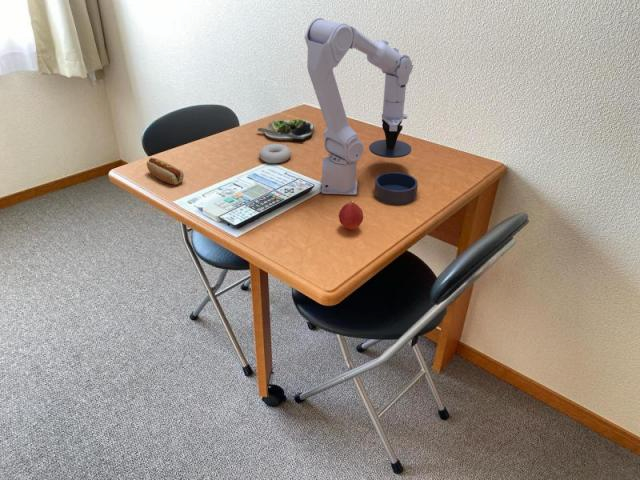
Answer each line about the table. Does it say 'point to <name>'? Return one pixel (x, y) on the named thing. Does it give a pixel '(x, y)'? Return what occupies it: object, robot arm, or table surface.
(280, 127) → the salad plate
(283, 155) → the donut
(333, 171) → the robot arm
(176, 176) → the food
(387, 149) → the lid
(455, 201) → the table surface
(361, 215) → the onion
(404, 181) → the pot
